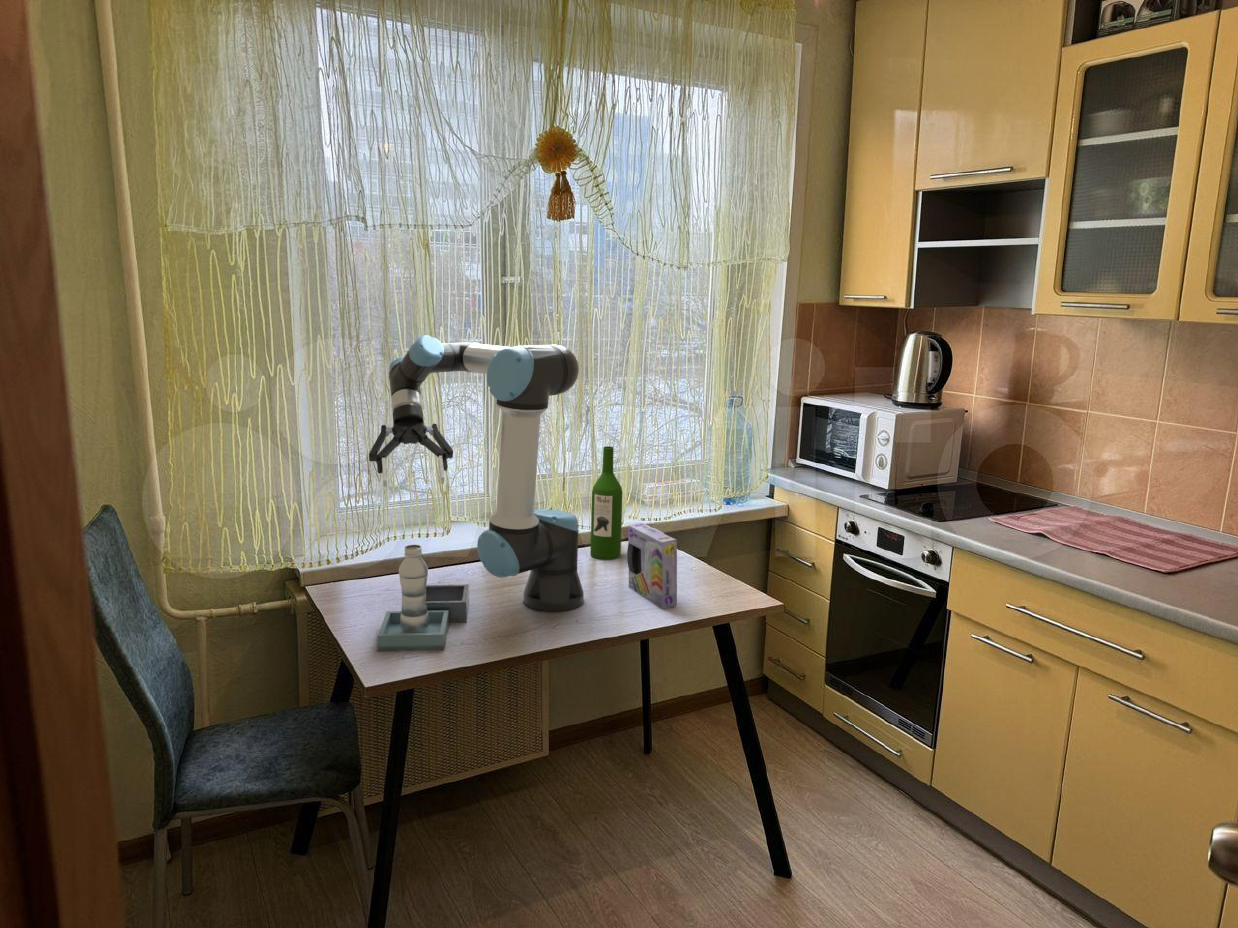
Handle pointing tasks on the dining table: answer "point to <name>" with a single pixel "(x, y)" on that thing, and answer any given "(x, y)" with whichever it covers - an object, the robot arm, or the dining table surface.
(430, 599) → the holder sleeve
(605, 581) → the dining table surface
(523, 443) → the robot arm
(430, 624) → the tray
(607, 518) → the wine bottle
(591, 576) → the dining table surface
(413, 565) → the metal bottle
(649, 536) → the purple product box
